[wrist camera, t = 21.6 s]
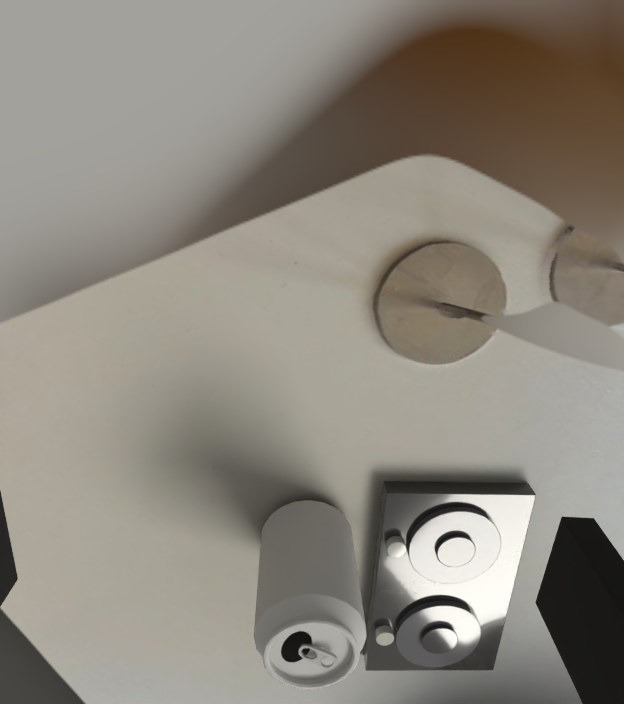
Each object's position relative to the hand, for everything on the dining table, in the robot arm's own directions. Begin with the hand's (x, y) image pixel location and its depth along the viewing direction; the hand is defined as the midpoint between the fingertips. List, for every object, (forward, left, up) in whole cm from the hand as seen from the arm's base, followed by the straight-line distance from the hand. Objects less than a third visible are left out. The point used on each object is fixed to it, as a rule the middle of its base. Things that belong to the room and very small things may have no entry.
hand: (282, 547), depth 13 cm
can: (-2, +22, -26) cm, 34 cm away
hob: (-14, +27, -26) cm, 40 cm away
